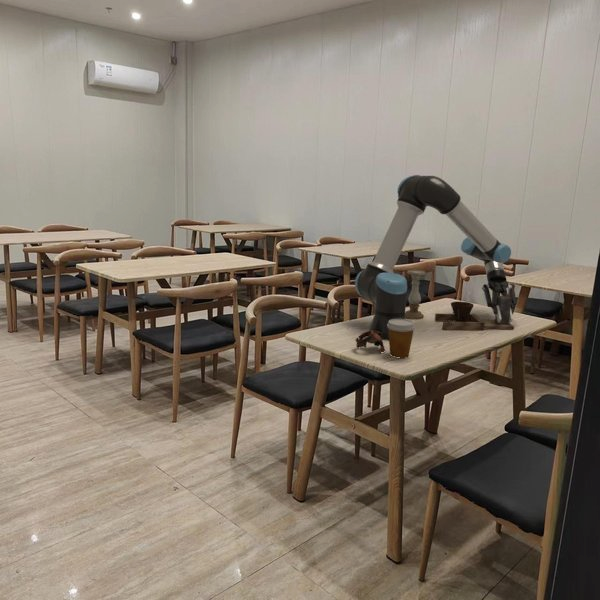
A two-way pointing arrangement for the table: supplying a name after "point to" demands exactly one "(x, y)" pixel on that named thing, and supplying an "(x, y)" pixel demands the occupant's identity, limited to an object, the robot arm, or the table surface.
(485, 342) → the table surface
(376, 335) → the dark brown arched piece
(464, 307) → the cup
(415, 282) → the candle holder
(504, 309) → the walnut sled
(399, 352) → the disposable coffee cup
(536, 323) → the table surface
